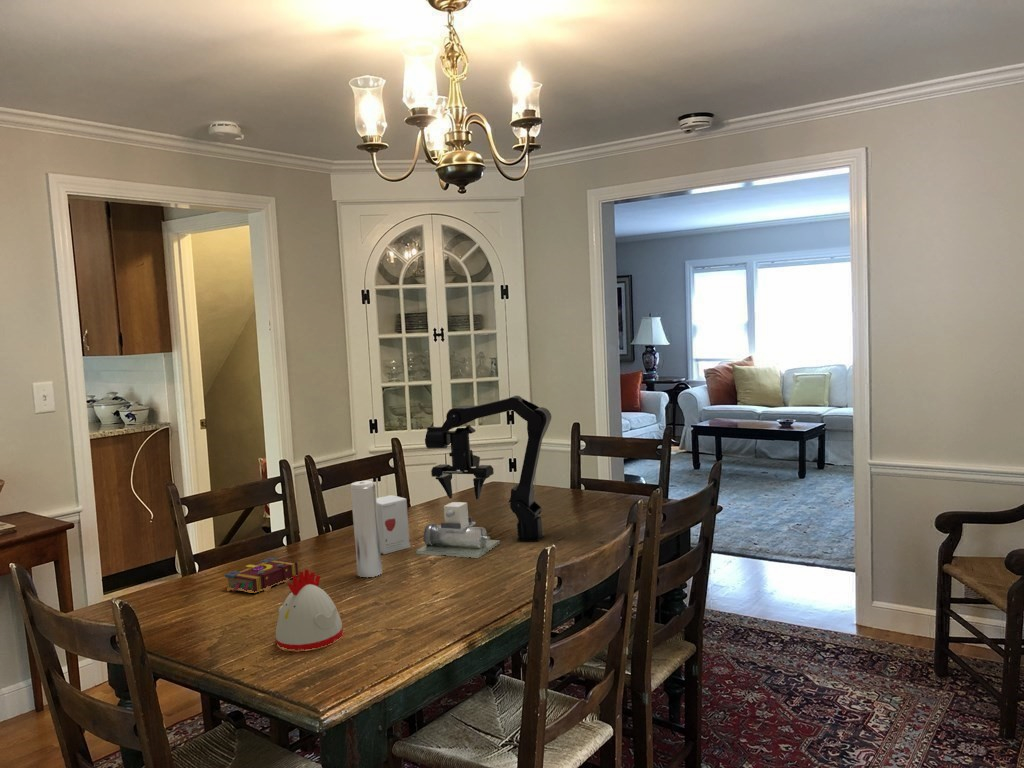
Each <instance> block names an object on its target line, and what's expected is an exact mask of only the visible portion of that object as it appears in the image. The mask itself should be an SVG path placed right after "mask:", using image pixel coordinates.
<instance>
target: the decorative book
mask: <svg viewBox="0 0 1024 768" xmlns="http://www.w3.org/2000/svg"><path fill="white" fill-rule="evenodd" d="M293 575H298V576H299V568H298V562H296V561H288V560H283V559H279V558H275V557H268V558H265V559H262V560H260V561H258V562H257V563H254V564H247V565H245V567H243V568H240V569H237V570H234V571H233V570H232V571H229V572H227V573H225V574H224V578H227V579H228V580H227V581H228V582H227V583H228V586H231V588H234V589H233V590H237V589H238V588H242V589H244V590H246V591H247V590H252V591H254V592H255V591H258V590H260V589H263V588H266V587H269V586H271V585H273V584H275V583H278V582H280V581H283V580H287V579H289V578H291V577H293Z"/></svg>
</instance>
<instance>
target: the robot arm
mask: <svg viewBox="0 0 1024 768" xmlns="http://www.w3.org/2000/svg"><path fill="white" fill-rule="evenodd" d="M510 411H513V412H515V414H517V415H518V417H520V418H521V419H522V420H525V422H526V430H527V442H526V443H527V444H526V447H525V453H524V456H523V457H524V458H523V463H522V466H521V467H522V468H521V471H520V472H521V473H520V477H519V481H518V484H516V485H514V487H512V488H511V490H510V498H509V500H508V503H509V504H510V505H509V508H510V509H511V512H512V513H514V515H515V516H516V518H517V523H516V524H517V525H516V527H517V528H516V529H517V538H516V539H517V541H525V542H527V541H528V542H539V541H540V540H541V539H542V538H544V537H545V533H543V525H542V523H543V522H542V521H543V520H542V516H540V515H541V514H542V510H543V507H542V506H541V505H540V504H539V503H537V502H536V501H535V488H534V484H535V477H536V472H537V466H538V463H539V458H540V453H541V452H540V451H541V449H542V443H543V442H542V441H543V439H544V436H545V435H546V433H547V431H548V429H549V426H550V423H551V421H552V413H551V412H550V410H549V409H547V408H546V407H541V406H540V407H539V406H538V405H537V404H534V403H533V402H530V401H528V400H527V399H524V398H523V397H522V396H520V395H513V396H511V397H508V398H504V399H500V400H495V401H491V402H487V403H484V404H479V405H458V406H455V407H453V408H451V409H449V410H448V412H447V413H446V416H445V418H446V420H445V421H444V422H443V424H442V426H433V425H432V426H428V427H426V432H425V433H426V434H425V438H424V443H425V447H426V449H428V450H438V449H440V450H441V449H442V450H443V449H447V448H448V446H450V451H451V452H448V455H449V457H451V464H446V463H445V464H437V465H435V466H433V467H432V468H431V471H430V472H431V473H430V474H431V477H435V478H434V479H435V480H437V481H438V482H439V484H440V485H441V487H442V488H443V489H444V491H445V493H446V495H447V497H448V498H449V499H450V500H451V499H453V489H452V488H453V486H452V478H453V475H473V476H474V478H473V479H472V481H473V486H474V487H473V488H474V495H475V500H479V499H480V497H481V493H482V489H483V485H484V483H485V482H486V481H485V480H486V479H488V478H490V476H492V475H494V474H495V473H494V468H493V466H492V465H491V464H480V462H481V461H480V460H481V457H480V456H478V455H474V454H473V452H474V451H473V450H472V449H471V446H470V443H471V442H470V434H473V433H475V432H476V429H475V428H473V426H471V424H468V423H470V422H472V421H474V420H477V419H479V418H485V417H489V416H493V415H497V414H500V413H501V414H502V413H505V412H510ZM465 424H468V425H466V427H461V426H463V425H465ZM455 428H456V429H455ZM452 429H455V430H452Z"/></svg>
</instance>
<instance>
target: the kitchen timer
mask: <svg viewBox="0 0 1024 768" xmlns="http://www.w3.org/2000/svg"><path fill="white" fill-rule="evenodd" d="M315 573H316V572H313V571H311V572H310V571H309V569H307V568H306V569H305V568H304V571H301V570H300V571H298V577H297V576H296V575H293V579H292V583H290V582H287V586H288V588H289V590H290V593H289V594H288V595H287V597H286V598H285V600H284V602H283V604H282V605H280V606H279V608H278V612H277V613H278V617H277V622H276V628H275V643H276V642H277V644H278V645H279V646H280V647H284V648H287V649H295V650H301V649H302V650H303V649H304V650H305V649H312V648H318V647H321V646H325V645H328V644H330V643H333V642H334V641H336V640H337V639H339V638H340V637H341V636H342V637H343V635H342V633H343V634H344V632H343V631H344V629H343V623H342V619H341V616H340V614H339V612H338V609H337V607H336V604H335V603H334V601H333V600H332V598H331V597H330V595H328V593H327V592H326V591H325V590H324V589H322V588H321V587H319V584H320V579H321V575H318V574H316V575H315ZM342 637H341V638H342ZM341 638H340V639H341ZM340 639H339V640H340Z"/></svg>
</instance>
